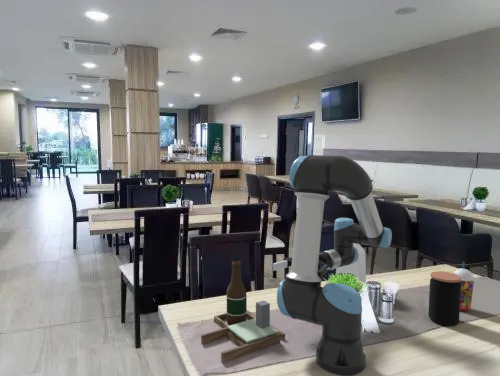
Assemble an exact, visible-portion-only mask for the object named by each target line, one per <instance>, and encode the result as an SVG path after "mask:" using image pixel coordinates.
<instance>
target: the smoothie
mask: <svg viewBox="0 0 500 376" xmlns="http://www.w3.org/2000/svg"><path fill="white" fill-rule="evenodd" d="M453 273H454V274H457V275H459V276H460V277H461V281H460V283H461V297H460V312H469V311H470V309H471V307H472V300H473V299H472V298H473V293H474V292H473V291H474V285H475V284H474V283H475V277H474V275H473V273H472V272H471V271H470V270H469V269H466V268H465V261H462V267H461V268H457V269H456V270H454V271H453Z"/></svg>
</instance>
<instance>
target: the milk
mask: <svg viewBox="0 0 500 376" xmlns="http://www.w3.org/2000/svg"><path fill="white" fill-rule="evenodd" d="M353 246H354V247H355V248H356V249H357V252H358V255H359V256H358V259H357V261H356V262H354V263H352V264H350V265H346V266H342V267H338V268H335V275H336V274H339V273H352V274H354V275H355V276H356V277H357V278H358V279H359V280H360V281H362V282H364V283H365V282H366V283H367V272H366V269H367V268H366V265H367V264H366V263H367V262H366V250H365V249H364V248H363V247H362V245H361V244H356V243H353Z"/></svg>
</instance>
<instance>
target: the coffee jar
mask: <svg viewBox="0 0 500 376" xmlns="http://www.w3.org/2000/svg"><path fill="white" fill-rule="evenodd" d="M460 281H461V277H460V276H459V275H457V274H454V272H448V271H440V270H439V271H432V272H431V273H430V280H429V292H428V293H429V294H428V297H429V298H428V312H427V313H428V314H427V315H428V318H429V319H430V321H431V322H432V323H434V324H437V325H439V326H444V327H455V326H456V325H458V323H459V321H460V312H461V311H460V297H461V283H460Z"/></svg>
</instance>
